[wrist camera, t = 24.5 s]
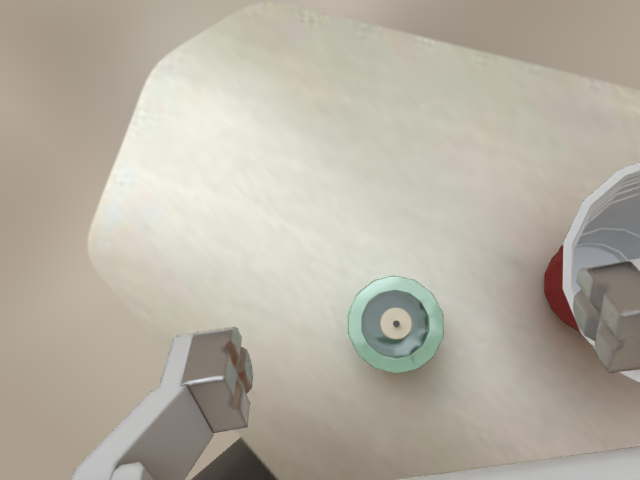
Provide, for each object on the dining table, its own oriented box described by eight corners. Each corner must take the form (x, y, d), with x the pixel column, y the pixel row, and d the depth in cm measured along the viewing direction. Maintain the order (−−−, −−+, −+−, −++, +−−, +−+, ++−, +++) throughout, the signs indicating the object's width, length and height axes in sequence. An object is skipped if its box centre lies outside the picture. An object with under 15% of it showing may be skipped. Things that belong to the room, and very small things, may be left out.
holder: (375, 374, 33) (374, 390, 26) (341, 304, 34) (331, 301, 27) (444, 341, 33) (461, 348, 26) (408, 271, 34) (415, 260, 27)
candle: (387, 338, 32) (389, 345, 23) (376, 316, 33) (374, 315, 24) (408, 327, 32) (419, 331, 23) (397, 306, 33) (403, 301, 24)
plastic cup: (469, 258, 33) (517, 226, 21) (608, 180, 33) (733, 104, 21) (560, 402, 31) (669, 454, 19) (709, 320, 31) (913, 323, 19)
